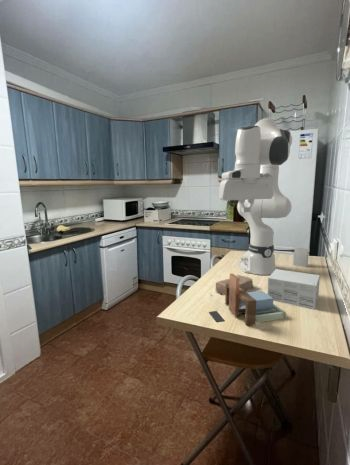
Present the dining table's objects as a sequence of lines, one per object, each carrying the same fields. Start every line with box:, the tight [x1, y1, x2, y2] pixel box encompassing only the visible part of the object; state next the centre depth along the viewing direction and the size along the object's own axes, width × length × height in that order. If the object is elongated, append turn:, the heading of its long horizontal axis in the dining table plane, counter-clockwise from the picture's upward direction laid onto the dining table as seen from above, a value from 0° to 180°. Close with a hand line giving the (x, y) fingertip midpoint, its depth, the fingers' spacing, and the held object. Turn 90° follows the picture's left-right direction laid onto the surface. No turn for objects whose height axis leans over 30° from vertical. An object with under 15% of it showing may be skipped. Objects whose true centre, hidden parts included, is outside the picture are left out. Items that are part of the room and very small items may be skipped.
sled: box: [228, 273, 276, 317], centre depth 90 cm, size 11×14×13 cm
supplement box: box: [266, 268, 321, 310], centre depth 101 cm, size 17×13×9 cm
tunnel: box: [224, 283, 256, 327], centre depth 90 cm, size 16×3×8 cm, turn 14°
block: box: [246, 290, 274, 311], centre depth 91 cm, size 7×8×6 cm
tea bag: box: [292, 246, 309, 268], centre depth 142 cm, size 4×7×10 cm, turn 54°
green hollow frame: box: [255, 303, 287, 323], centre depth 92 cm, size 14×11×2 cm
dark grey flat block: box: [208, 310, 225, 323], centre depth 88 cm, size 7×3×1 cm, turn 14°
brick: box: [215, 274, 254, 296], centre depth 111 cm, size 16×8×5 cm, turn 131°
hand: (246, 212), depth 94 cm, fingers closed
